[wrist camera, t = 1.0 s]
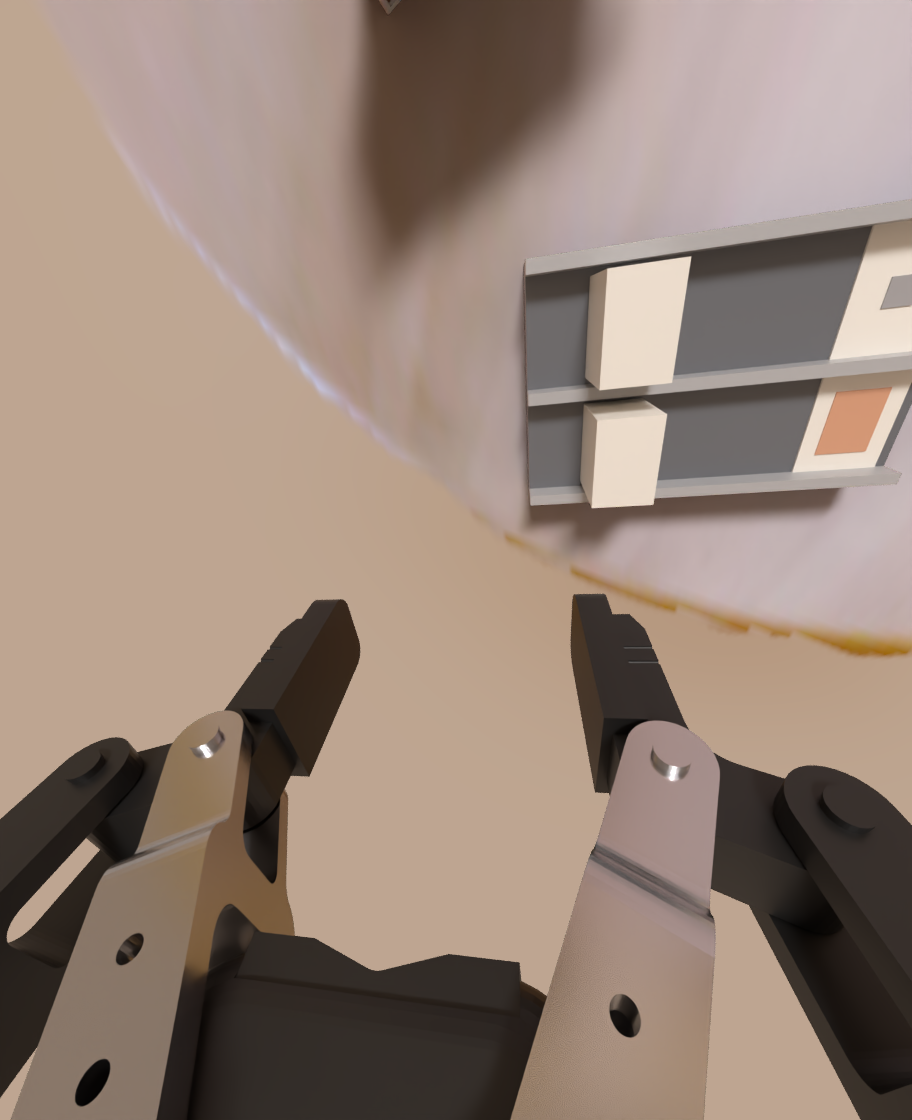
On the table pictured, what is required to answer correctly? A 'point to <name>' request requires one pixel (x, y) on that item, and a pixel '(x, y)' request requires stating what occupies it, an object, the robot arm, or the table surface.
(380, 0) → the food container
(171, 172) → the table surface
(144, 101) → the table surface
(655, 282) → the near tab
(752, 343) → the switch panel
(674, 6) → the table surface
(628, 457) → the far tab
